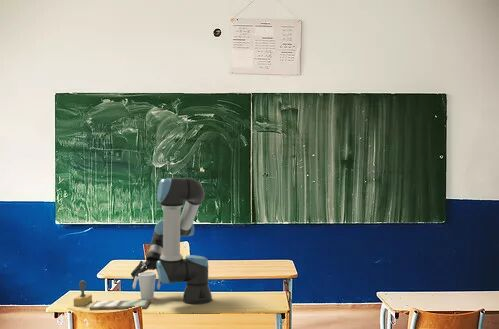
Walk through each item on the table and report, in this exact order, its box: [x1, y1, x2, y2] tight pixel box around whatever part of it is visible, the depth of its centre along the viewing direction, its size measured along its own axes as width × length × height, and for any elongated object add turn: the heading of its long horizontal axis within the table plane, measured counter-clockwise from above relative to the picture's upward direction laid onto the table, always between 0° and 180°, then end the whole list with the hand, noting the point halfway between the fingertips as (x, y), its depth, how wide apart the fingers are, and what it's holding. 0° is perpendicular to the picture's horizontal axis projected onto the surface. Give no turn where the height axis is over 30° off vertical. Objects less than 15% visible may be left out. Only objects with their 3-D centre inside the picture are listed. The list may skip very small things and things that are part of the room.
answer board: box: [89, 299, 152, 311], centre depth 281 cm, size 28×13×1 cm, turn 91°
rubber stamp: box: [73, 280, 93, 307], centre depth 287 cm, size 10×6×12 cm, turn 173°
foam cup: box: [137, 271, 157, 300], centre depth 296 cm, size 10×9×13 cm
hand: (145, 287), depth 294 cm, fingers open, 13 cm apart
